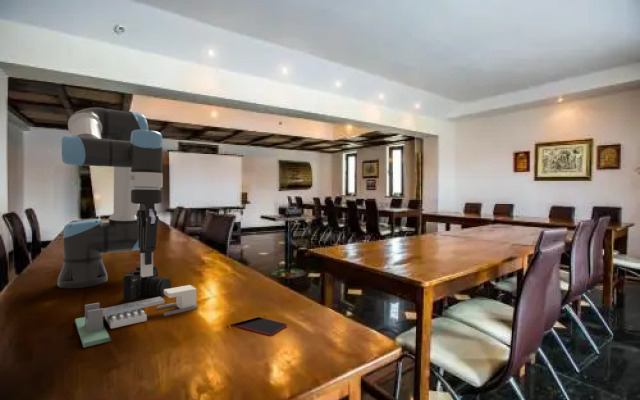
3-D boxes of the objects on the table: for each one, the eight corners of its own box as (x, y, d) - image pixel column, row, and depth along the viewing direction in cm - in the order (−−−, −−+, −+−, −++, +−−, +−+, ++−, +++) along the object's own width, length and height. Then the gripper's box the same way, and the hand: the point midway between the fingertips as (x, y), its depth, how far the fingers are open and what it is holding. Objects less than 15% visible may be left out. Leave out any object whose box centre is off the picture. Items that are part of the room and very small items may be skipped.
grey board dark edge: (92, 319, 81) (91, 315, 81) (89, 315, 84) (89, 310, 84) (164, 303, 92) (164, 299, 91) (160, 299, 95) (160, 295, 94)
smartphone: (271, 334, 81) (224, 322, 88) (271, 338, 81) (224, 325, 88) (288, 324, 87) (243, 313, 94) (288, 327, 87) (243, 316, 94)
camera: (149, 307, 100) (149, 274, 100) (118, 304, 102) (117, 271, 102) (177, 293, 114) (177, 264, 113) (149, 291, 116) (149, 262, 115)
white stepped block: (163, 308, 96) (163, 289, 95) (190, 303, 101) (190, 284, 100) (169, 313, 92) (169, 293, 92) (196, 307, 97) (196, 288, 97)
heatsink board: (75, 322, 87) (75, 300, 87) (184, 300, 106) (184, 281, 106) (83, 347, 74) (83, 320, 74) (206, 317, 92) (207, 296, 92)
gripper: (125, 188, 92) (125, 273, 93) (137, 188, 82) (137, 283, 83) (155, 188, 97) (155, 269, 98) (169, 189, 87) (168, 278, 88)
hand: (146, 275), depth 90 cm, fingers closed
